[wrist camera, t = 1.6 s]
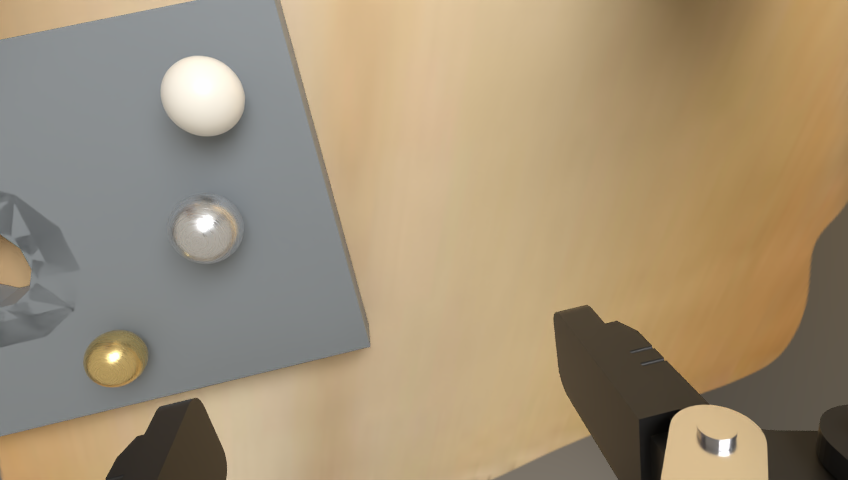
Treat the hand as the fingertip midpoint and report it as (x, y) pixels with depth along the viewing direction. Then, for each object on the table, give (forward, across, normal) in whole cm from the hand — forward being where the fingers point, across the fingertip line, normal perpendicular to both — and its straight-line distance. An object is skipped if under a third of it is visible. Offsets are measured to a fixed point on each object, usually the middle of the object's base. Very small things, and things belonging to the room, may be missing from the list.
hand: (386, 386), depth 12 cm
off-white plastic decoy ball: (+16, +6, -6) cm, 18 cm away
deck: (+20, +14, 0) cm, 24 cm away
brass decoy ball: (+16, +15, +6) cm, 23 cm away
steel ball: (+16, +8, 0) cm, 18 cm away
